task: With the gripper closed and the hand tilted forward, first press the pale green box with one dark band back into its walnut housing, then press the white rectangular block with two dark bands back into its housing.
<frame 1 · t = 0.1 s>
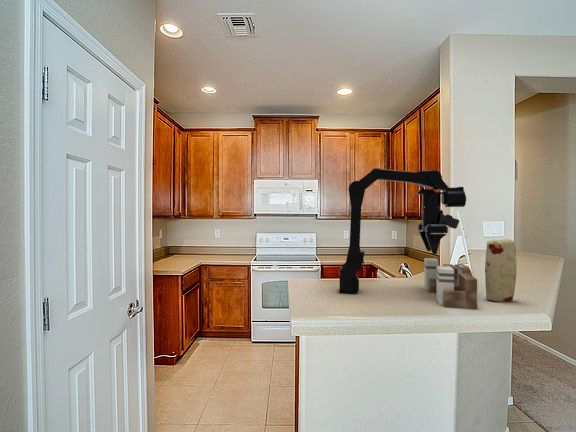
hand: (431, 252, 114), 15 cm above the table, tool pointing down, fingers open, 9 cm apart
pale green box: (431, 274, 121), point 6 cm above the table, slide at 0.0 cm
food model: (500, 301, 106), on the table
white rectangular block: (444, 285, 103), point 6 cm above the table, slide at 0.0 cm
housing one: (431, 290, 121), on the table
housing two: (444, 303, 103), on the table
tin: (462, 288, 125), on the table
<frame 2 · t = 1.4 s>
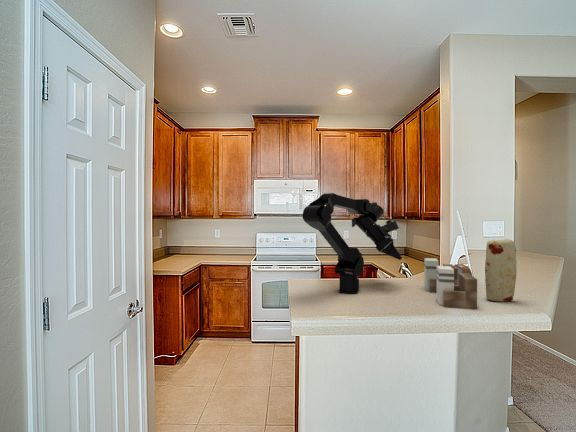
hand: (400, 257, 123), 12 cm above the table, tool tilted 45°, fingers open, 6 cm apart
nothing on the table moved.
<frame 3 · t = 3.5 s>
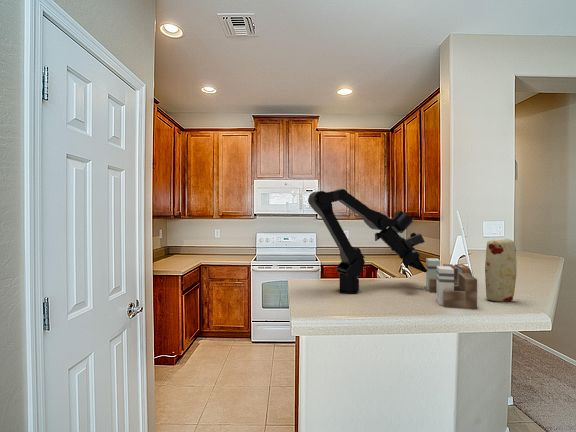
hand: (426, 271, 121), 7 cm above the table, tool tilted 45°, fingers closed, pressing on pale green box
pale green box: (433, 274, 120), point 6 cm above the table, slide at 0.6 cm, touching gripper
everything else where it was.
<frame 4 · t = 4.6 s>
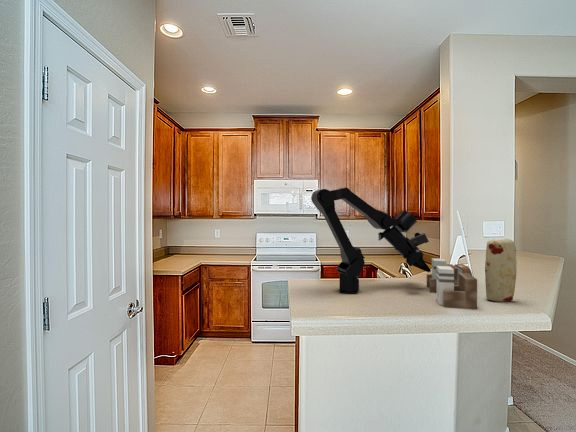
hand: (430, 271, 121), 7 cm above the table, tool tilted 45°, fingers closed
pale green box: (438, 274, 120), point 6 cm above the table, slide at 2.5 cm
everything else where it was.
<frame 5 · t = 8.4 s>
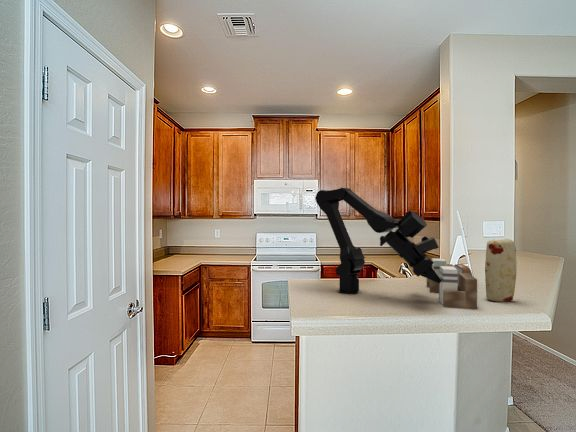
hand: (440, 282, 104), 7 cm above the table, tool tilted 45°, fingers closed, pressing on white rectangular block
white rectangular block: (448, 285, 103), point 6 cm above the table, slide at 1.0 cm, touching gripper
everything else where it was.
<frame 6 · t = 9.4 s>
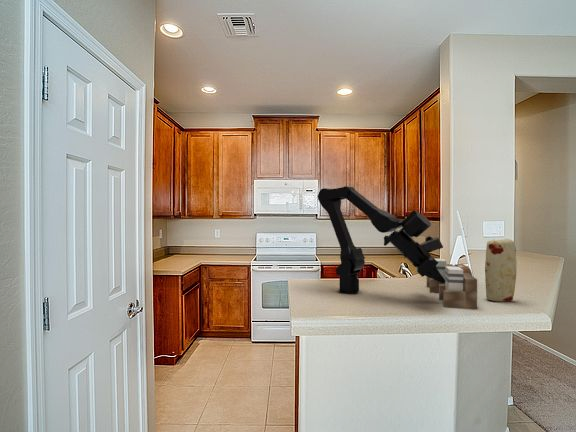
hand: (444, 282, 103), 7 cm above the table, tool tilted 45°, fingers closed
white rectangular block: (453, 285, 103), point 6 cm above the table, slide at 2.5 cm
everything else where it was.
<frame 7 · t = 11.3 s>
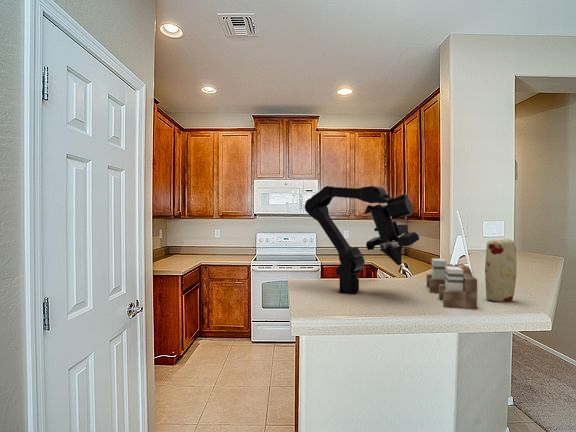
hand: (399, 264, 112), 11 cm above the table, tool tilted 20°, fingers closed
nothing on the table moved.
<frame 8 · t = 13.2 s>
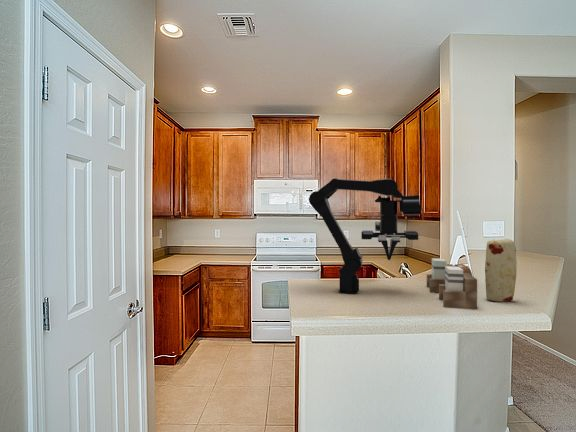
hand: (388, 259, 116), 12 cm above the table, tool pointing down, fingers closed
nothing on the table moved.
at the end: pale green box slide at 2.5 cm; white rectangular block slide at 2.5 cm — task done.
